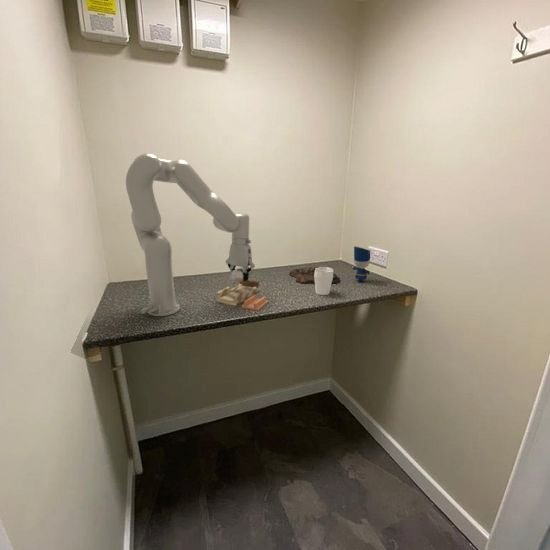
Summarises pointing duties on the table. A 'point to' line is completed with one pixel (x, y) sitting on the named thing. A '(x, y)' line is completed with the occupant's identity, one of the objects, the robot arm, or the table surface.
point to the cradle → (255, 303)
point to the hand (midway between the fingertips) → (239, 279)
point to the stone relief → (308, 276)
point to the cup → (323, 280)
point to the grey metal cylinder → (238, 275)
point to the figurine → (361, 262)
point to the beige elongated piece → (238, 292)
